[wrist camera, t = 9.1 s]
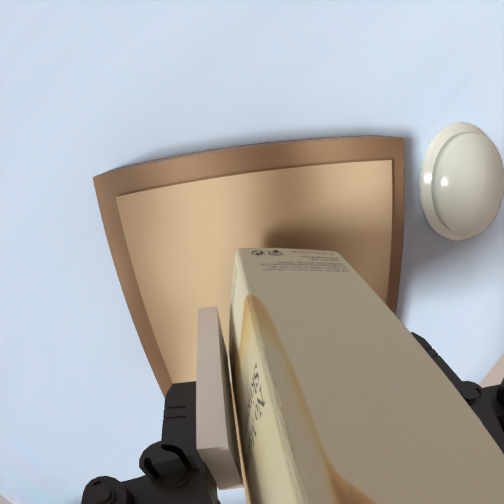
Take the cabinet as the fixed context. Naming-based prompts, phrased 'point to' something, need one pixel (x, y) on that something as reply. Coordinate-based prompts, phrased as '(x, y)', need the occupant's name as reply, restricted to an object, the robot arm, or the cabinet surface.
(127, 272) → the tan square flat tray
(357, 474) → the skincare box
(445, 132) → the trinket dish
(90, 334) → the cabinet surface
